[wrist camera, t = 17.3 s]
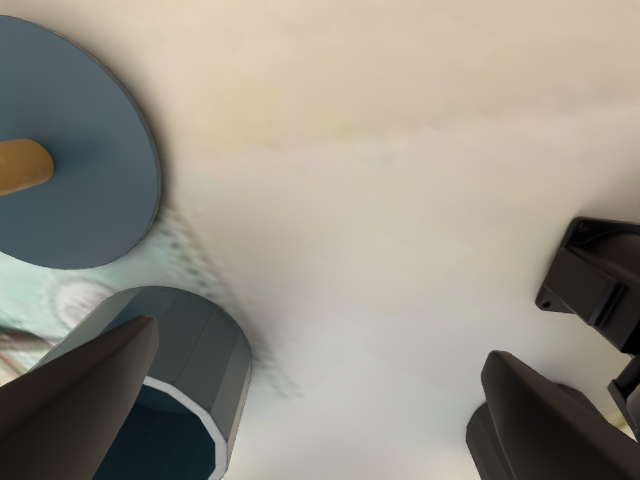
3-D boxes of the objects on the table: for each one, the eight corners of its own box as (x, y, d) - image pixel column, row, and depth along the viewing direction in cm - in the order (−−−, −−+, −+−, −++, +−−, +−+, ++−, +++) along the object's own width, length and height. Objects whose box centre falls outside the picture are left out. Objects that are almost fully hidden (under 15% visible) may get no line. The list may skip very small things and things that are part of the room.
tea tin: (255, 296, 23) (227, 376, 16) (249, 419, 28) (227, 518, 21) (71, 276, 22) (-32, 351, 16) (99, 405, 27) (30, 503, 21)
